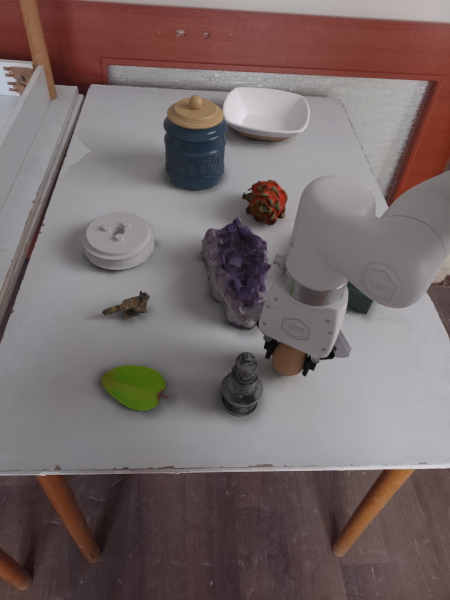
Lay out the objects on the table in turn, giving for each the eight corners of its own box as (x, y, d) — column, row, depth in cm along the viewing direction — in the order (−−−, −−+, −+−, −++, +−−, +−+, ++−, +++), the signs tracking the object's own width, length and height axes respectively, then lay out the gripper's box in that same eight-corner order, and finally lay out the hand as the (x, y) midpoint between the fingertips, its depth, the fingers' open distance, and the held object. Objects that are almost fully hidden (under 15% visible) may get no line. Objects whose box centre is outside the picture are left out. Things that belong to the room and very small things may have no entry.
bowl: (227, 102, 122) (229, 83, 118) (306, 112, 121) (310, 93, 117) (215, 144, 108) (216, 124, 104) (305, 156, 107) (309, 136, 103)
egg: (301, 387, 67) (312, 358, 61) (266, 380, 67) (274, 351, 61) (304, 358, 70) (314, 328, 64) (271, 352, 71) (279, 321, 65)
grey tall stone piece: (234, 374, 68) (242, 327, 58) (267, 396, 66) (280, 350, 57) (211, 402, 64) (215, 357, 55) (245, 426, 62) (254, 383, 53)
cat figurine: (156, 314, 74) (149, 299, 70) (109, 328, 73) (100, 314, 70) (153, 301, 75) (146, 286, 72) (107, 315, 75) (98, 301, 72)
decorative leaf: (128, 425, 62) (127, 423, 61) (97, 378, 66) (96, 375, 65) (175, 394, 65) (174, 392, 64) (143, 351, 69) (142, 348, 68)
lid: (115, 284, 78) (111, 264, 74) (71, 248, 83) (65, 227, 79) (168, 249, 84) (167, 229, 80) (125, 217, 89) (122, 197, 85)
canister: (212, 197, 95) (216, 118, 81) (155, 183, 97) (150, 103, 84) (231, 165, 103) (237, 88, 90) (179, 152, 105) (177, 75, 92)
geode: (288, 325, 74) (292, 288, 66) (220, 340, 74) (215, 304, 66) (258, 239, 86) (257, 199, 78) (199, 251, 86) (192, 211, 77)
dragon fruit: (263, 243, 89) (255, 212, 98) (301, 221, 86) (289, 191, 95) (240, 213, 84) (234, 183, 93) (280, 189, 81) (269, 160, 90)
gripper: (235, 270, 53) (226, 354, 67) (377, 328, 49) (335, 405, 62) (261, 233, 57) (247, 320, 71) (393, 283, 53) (351, 365, 67)
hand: (288, 359), depth 67 cm, fingers closed on egg, 5 cm apart
